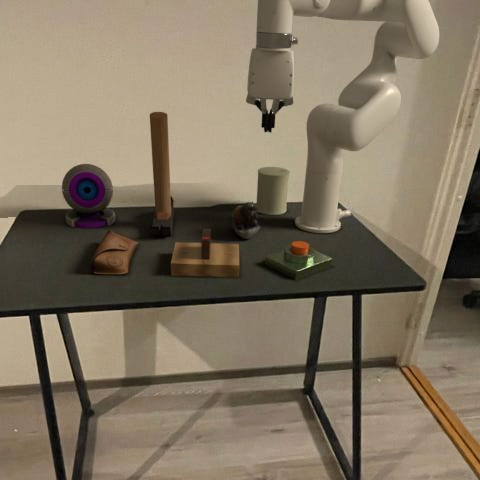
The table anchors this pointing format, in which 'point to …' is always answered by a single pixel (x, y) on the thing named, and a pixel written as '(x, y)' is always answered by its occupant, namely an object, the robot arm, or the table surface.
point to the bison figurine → (246, 220)
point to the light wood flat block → (205, 260)
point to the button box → (298, 262)
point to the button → (300, 247)
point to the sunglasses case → (113, 255)
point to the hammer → (161, 175)
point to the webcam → (88, 196)
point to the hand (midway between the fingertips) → (267, 131)
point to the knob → (206, 243)
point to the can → (272, 190)
